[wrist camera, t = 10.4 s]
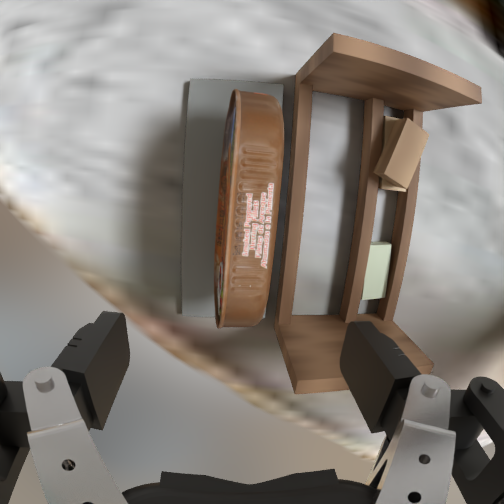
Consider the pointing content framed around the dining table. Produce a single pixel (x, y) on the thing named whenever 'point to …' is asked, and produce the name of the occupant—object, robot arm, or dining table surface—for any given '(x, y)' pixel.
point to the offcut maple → (387, 128)
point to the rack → (376, 97)
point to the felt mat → (206, 185)
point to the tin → (247, 208)
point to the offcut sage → (377, 271)
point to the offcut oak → (401, 153)
